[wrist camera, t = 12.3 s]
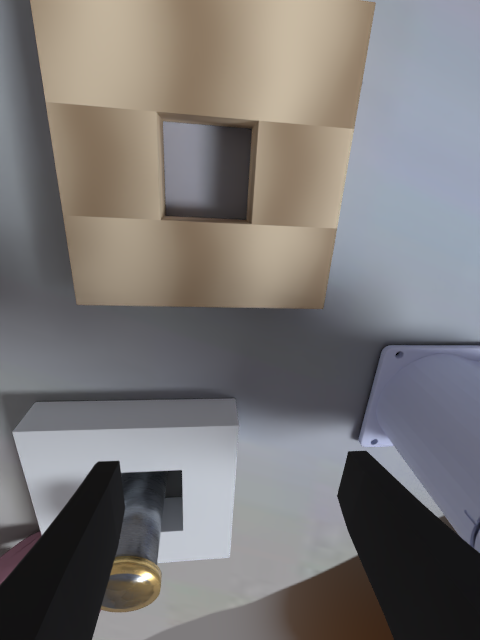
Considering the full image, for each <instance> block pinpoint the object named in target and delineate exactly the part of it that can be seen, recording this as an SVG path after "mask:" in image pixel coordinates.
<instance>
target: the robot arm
mask: <svg viewBox="0 0 480 640" xmlns="http://www.w3.org/2000/svg"><path fill="white" fill-rule="evenodd" d="M399 351H400V353H399V354H398V355H396V353H397V352H399ZM395 355H396V356H395ZM373 439H374V440H373ZM359 442H360V444H361V446H363V447H381V446H395V448H396V449H397V451H398V452H399V453H400V455H401V456H402V457H403V459H404V460H405V462H406V463H407V464H408V466H409V467H410V468H411V470H412V471H413V473H414V474H415V475H416V477H417V478H418V479H419V481H420V482H421V483H422V485H423V486H424V488H425V489H426V490H427V492H428V493H429V494H430V496H431V497H432V499H433V500H434V501H435V503H436V504H437V505H438V507H439V508H440V510H441V511H442V512H443V514H444V515H445V516H446V518H447V519H448V521H449V522H450V523H451V524H452V526H453V527H454V529H455V530H456V532H457V533H458V534H459V535H457V534H456V533H455V532H454V531H453V530H451V529H450V528H449V527H448V526H447V525H446V524H444V523H443V522H442V521H441V520H440V519H439V518H438V517H437V516H435V515H434V514H433V513H432V512H431V511H430V510H429V509H428V508H426V507H425V506H424V505H423V504H422V503H421V502H420V501H419V500H418V499H417V498H416V497H414V496H413V495H412V494H411V493H410V492H409V491H408V490H407V489H406V488H405V487H404V486H403V485H402V484H401V483H400V482H399V481H397V480H396V479H395V478H394V477H393V476H392V475H391V474H390V473H389V472H388V471H387V470H386V469H385V468H384V467H383V466H382V465H381V464H380V463H379V462H378V461H377V460H375V459H374V458H373V457H372V456H371V455H370V454H369V453H368V452H367V451H349V452H348V455H347V459H346V463H345V467H344V471H343V475H342V479H341V483H340V487H339V491H338V495H337V497H338V500H339V503H340V507H341V510H342V514H343V517H344V520H345V523H346V526H347V529H348V532H349V534H350V537H351V539H352V541H353V544H354V546H355V548H356V551H357V553H358V555H359V558H360V560H361V562H362V565H363V567H364V569H365V571H366V574H367V576H368V578H369V581H370V583H371V585H372V588H373V590H374V592H375V595H376V597H377V599H378V601H379V604H380V606H381V608H382V611H383V613H384V615H385V618H386V620H387V623H388V625H389V628H390V630H391V633H392V635H393V638H394V640H480V345H389V346H386V347H385V348H384V349H383V350H382V352H381V356H380V360H379V363H378V367H377V371H376V375H375V379H374V382H373V386H372V390H371V394H370V398H369V401H368V405H367V409H366V413H365V417H364V420H363V424H362V428H361V432H360V435H359ZM124 512H125V502H124V494H123V486H122V478H121V469H120V461H98V462H97V463H96V464H95V465H94V466H93V468H92V469H91V471H90V472H89V473H88V475H87V476H86V478H85V479H84V481H83V482H82V483H81V485H80V486H79V488H78V489H77V490H76V492H75V493H74V494H73V496H72V497H71V498H70V500H69V501H68V502H67V504H66V505H65V506H64V508H63V509H62V510H61V512H60V513H59V514H58V516H57V517H56V518H55V519H54V521H53V522H52V523H51V524H50V526H49V527H48V528H47V530H46V531H45V532H44V533H43V535H42V536H41V537H40V538H39V540H38V541H37V542H36V543H35V544H34V546H33V547H32V548H31V549H30V550H29V552H28V553H27V554H26V555H25V556H24V558H23V559H22V560H21V561H20V562H19V563H18V565H17V566H16V567H15V568H14V569H13V571H12V572H11V573H10V574H9V575H8V576H7V578H6V579H5V580H4V581H3V582H2V583H1V584H0V640H92V637H93V634H94V630H95V627H96V623H97V620H98V616H99V613H100V609H101V606H102V602H103V599H104V595H105V592H106V588H107V585H108V581H109V578H110V574H111V570H112V567H113V563H114V560H115V556H116V553H117V549H118V545H119V539H120V534H121V529H122V523H123V518H124Z"/></svg>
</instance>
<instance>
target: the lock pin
mask: <svg viewBox="0 0 480 640" xmlns="http://www.w3.org/2000/svg"><path fill="white" fill-rule="evenodd" d="M121 478H122V486H123V494H124V502H125V512H124V518H123V523H122V529H121V534H120V539H119V545H118V549H117V553H116V556H115V560H114V563H113V567H112V570H111V574H110V578H109V581H108V585H107V588H106V592H105V595H104V599H103V602H102V606H101V610H104V611H109V612H129V611H134V610H138V609H141V608H143V607H146V606H148V605H149V604H151V603H152V602H153V601H154V600H155V599H156V598H157V597H158V595H159V593H160V587H161V575H162V574H161V571H160V569H159V567H158V566H157V560H158V552H159V543H160V534H161V525H162V517H163V508H164V499H165V490H166V482H167V471H149V472H126V473H122V477H121Z"/></svg>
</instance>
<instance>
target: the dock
mask: <svg viewBox="0 0 480 640" xmlns="http://www.w3.org/2000/svg"><path fill="white" fill-rule="evenodd" d="M12 433H13V437H14V440H15V444H16V447H17V451H18V454H19V458H20V461H21V465H22V468H23V472H24V475H25V479H26V482H27V486H28V489H29V493H30V496H31V500H32V503H33V506H34V510H35V513H36V517H37V520H38V524H39V527H40V531H41V534H42V535H43V533H44V532H45V531H46V530H47V528H48V527H49V526H50V524H51V523H52V522H53V521H54V519H55V518H56V517H57V516H58V514H59V513H60V512H61V510H62V509H63V508H64V506H65V505H66V504H67V502H68V501H69V500H70V498H71V497H72V496H73V494H74V493H75V492H76V490H77V489H78V488H79V486H80V485H81V483H82V482H83V481H84V479H85V478H86V476H87V475H88V473H89V472H90V471H91V469H92V468H93V466H94V465H95V464H96V463H97V462H98V461H120V469H121V473H126V472H149V471H171V470H182V489H183V497H171V498H165V499H164V508H163V517H162V525H161V534H160V543H159V552H158V560H157V563H165V562H178V561H191V560H204V559H217V558H230V547H231V533H232V519H233V505H234V491H235V477H236V463H237V449H238V435H239V421H238V414H237V407H236V401H235V398H231V399H175V400H119V401H63V402H35V403H34V404H33V406H32V407H31V408H30V410H29V411H28V412H27V414H26V415H25V416H24V417H23V419H22V420H21V421H20V423H19V424H18V425H17V426H16V428H15V429H14V430H13V432H12Z"/></svg>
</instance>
